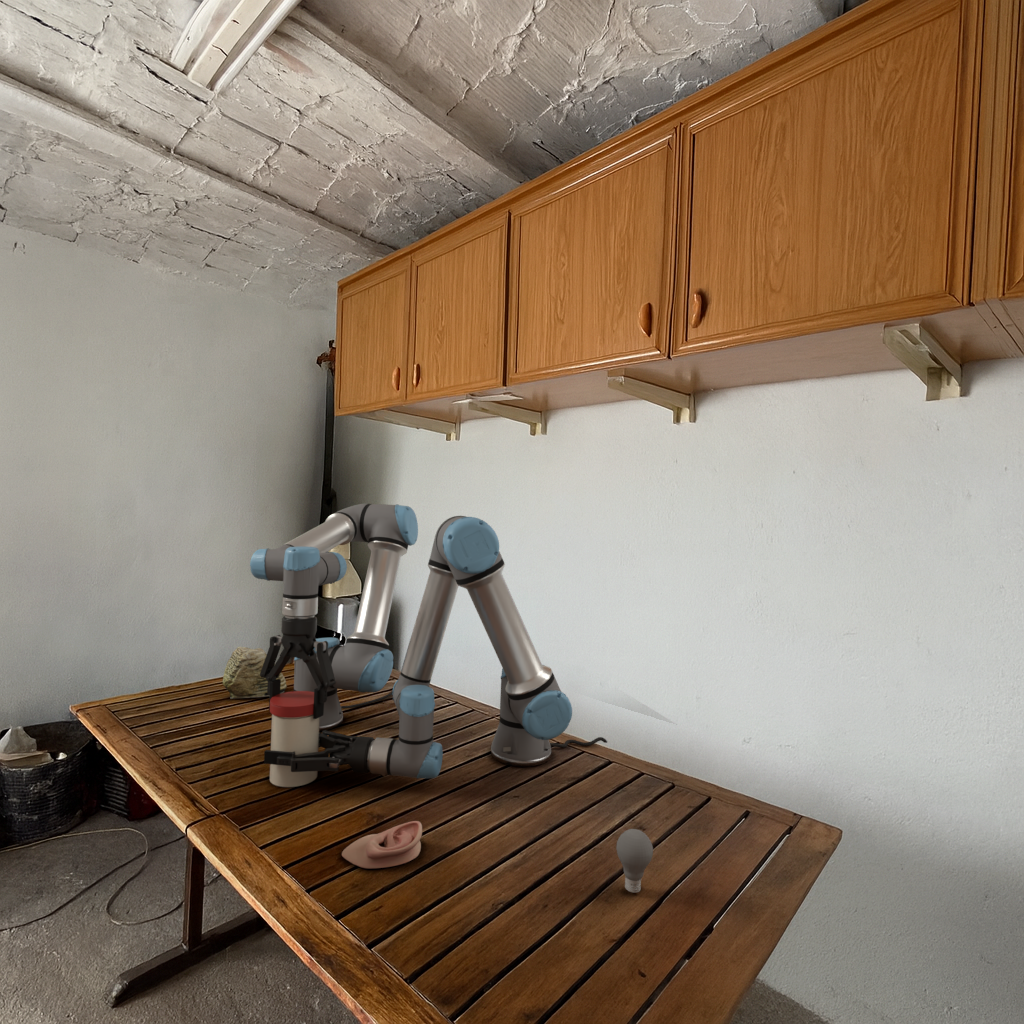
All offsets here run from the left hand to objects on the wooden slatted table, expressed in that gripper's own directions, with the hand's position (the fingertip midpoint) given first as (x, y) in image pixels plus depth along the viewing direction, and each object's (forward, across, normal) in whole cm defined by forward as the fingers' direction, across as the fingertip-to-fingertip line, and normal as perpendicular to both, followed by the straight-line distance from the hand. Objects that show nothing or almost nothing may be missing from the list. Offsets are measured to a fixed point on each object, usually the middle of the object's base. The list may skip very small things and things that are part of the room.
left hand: (296, 713), depth 142 cm
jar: (+14, 0, 0) cm, 14 cm away
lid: (-3, 0, 0) cm, 3 cm away
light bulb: (+15, +78, -13) cm, 80 cm away
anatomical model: (+15, +34, -19) cm, 41 cm away
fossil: (+14, -47, +43) cm, 65 cm away
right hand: (+8, -4, -1) cm, 9 cm away
